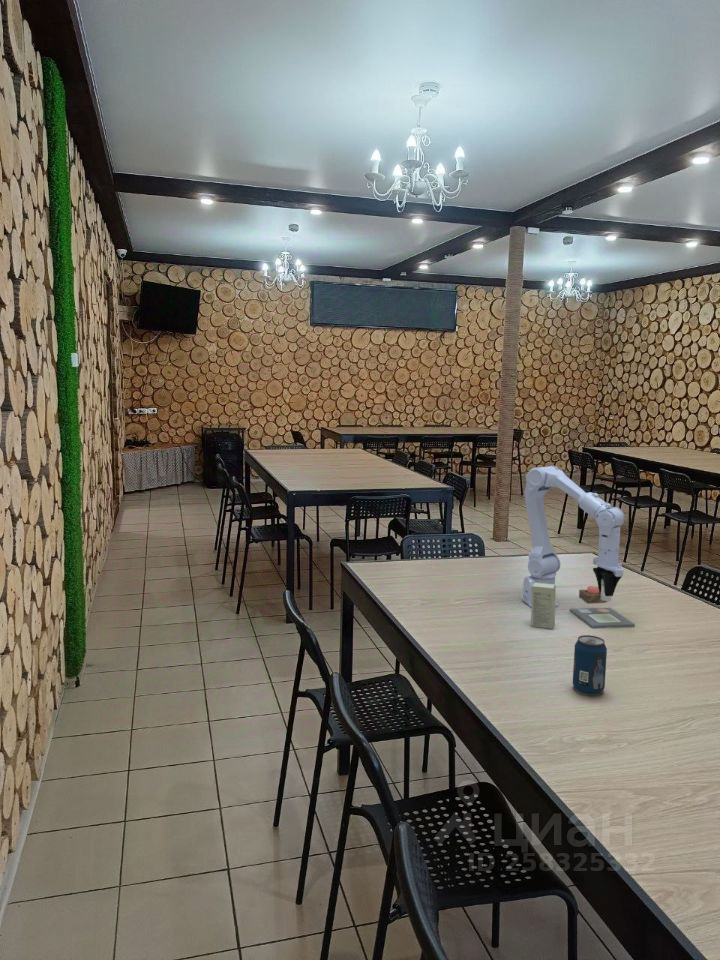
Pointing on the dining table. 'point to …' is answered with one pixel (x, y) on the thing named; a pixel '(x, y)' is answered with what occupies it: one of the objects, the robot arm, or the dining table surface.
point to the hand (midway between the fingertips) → (606, 593)
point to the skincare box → (543, 605)
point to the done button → (592, 590)
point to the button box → (590, 597)
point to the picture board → (601, 617)
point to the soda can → (589, 665)
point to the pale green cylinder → (603, 597)
